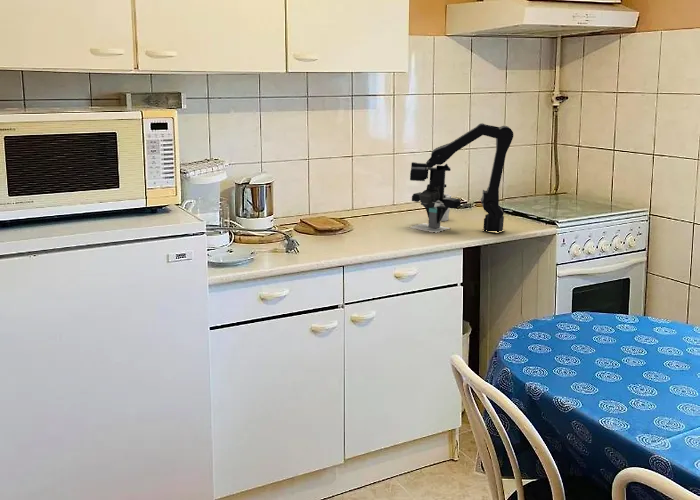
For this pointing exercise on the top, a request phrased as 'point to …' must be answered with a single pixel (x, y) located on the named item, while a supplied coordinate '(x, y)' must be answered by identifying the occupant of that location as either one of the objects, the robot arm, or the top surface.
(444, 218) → the white cup
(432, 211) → the cylinder
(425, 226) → the paper
